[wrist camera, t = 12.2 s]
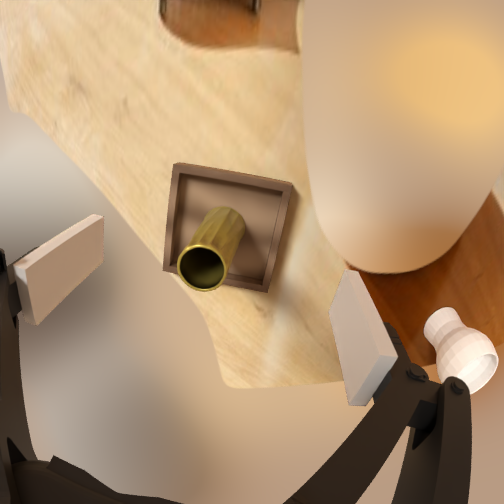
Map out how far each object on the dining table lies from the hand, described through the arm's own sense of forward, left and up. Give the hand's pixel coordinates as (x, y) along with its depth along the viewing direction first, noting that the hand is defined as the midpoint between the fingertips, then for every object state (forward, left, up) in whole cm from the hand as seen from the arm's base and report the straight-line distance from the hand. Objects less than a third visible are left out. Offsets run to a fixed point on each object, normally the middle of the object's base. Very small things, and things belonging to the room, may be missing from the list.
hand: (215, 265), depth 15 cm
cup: (+17, +39, -28) cm, 51 cm away
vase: (+7, -3, -28) cm, 29 cm away
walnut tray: (+7, -3, -28) cm, 29 cm away
